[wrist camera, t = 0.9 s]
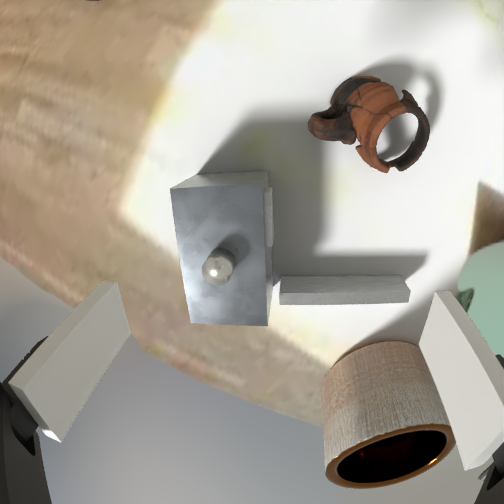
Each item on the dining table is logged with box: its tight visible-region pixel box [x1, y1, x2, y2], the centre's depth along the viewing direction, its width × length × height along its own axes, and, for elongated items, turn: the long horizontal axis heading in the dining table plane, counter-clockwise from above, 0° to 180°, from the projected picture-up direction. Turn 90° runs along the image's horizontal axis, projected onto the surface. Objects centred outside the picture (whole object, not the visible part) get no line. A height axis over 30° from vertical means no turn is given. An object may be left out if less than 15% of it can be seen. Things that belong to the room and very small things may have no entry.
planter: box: [321, 341, 456, 489], centre depth 35 cm, size 18×18×16 cm
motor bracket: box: [170, 171, 410, 326], centre depth 30 cm, size 14×24×10 cm, turn 93°
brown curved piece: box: [308, 76, 430, 173], centre depth 27 cm, size 12×10×8 cm
